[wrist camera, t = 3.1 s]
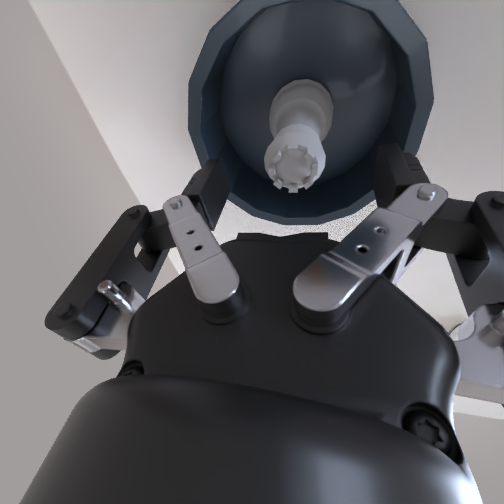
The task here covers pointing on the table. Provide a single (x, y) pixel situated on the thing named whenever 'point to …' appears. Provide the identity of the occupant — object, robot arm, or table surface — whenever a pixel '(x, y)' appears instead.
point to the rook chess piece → (298, 134)
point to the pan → (321, 71)
